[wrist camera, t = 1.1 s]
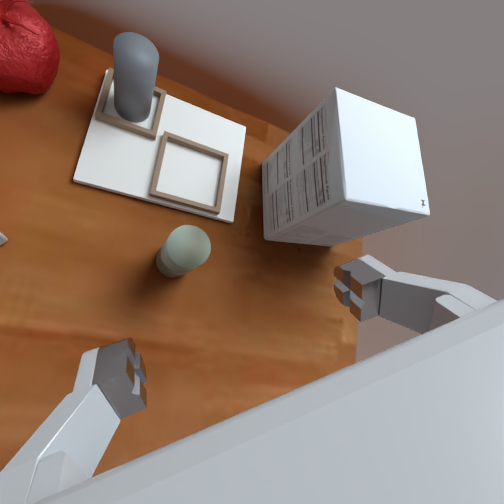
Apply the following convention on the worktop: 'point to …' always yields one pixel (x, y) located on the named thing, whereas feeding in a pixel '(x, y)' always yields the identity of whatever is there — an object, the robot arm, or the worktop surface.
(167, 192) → the board
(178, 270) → the sage pin
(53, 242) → the worktop surface
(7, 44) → the pomegranate
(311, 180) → the supplement box
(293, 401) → the robot arm
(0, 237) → the skincare box
